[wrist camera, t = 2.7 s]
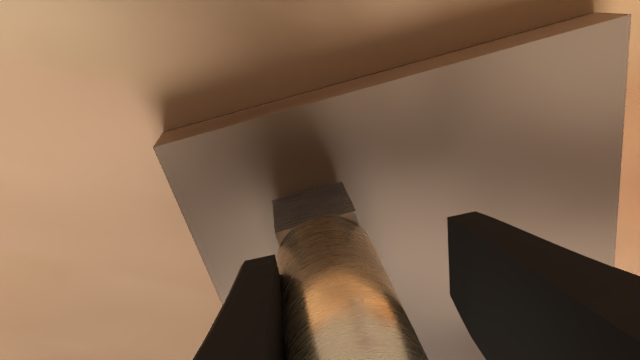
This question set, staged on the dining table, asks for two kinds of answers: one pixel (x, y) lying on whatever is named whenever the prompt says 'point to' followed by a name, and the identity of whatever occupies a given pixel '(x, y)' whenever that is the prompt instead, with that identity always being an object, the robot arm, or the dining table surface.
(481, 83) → the base
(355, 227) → the lever
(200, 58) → the dining table surface
